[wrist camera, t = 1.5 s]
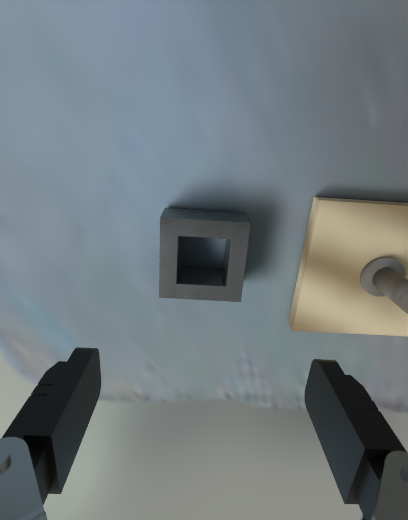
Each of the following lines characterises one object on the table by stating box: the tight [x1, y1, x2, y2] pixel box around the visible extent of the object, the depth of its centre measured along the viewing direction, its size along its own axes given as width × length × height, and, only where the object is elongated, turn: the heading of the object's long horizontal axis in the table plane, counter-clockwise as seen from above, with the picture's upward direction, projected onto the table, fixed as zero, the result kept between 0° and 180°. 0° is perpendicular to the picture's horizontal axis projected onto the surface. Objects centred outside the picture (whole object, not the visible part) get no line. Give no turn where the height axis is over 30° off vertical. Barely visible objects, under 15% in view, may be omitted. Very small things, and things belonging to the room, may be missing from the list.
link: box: [159, 208, 251, 302], centre depth 23 cm, size 6×6×3 cm
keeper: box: [289, 197, 408, 336], centre depth 21 cm, size 11×12×7 cm
